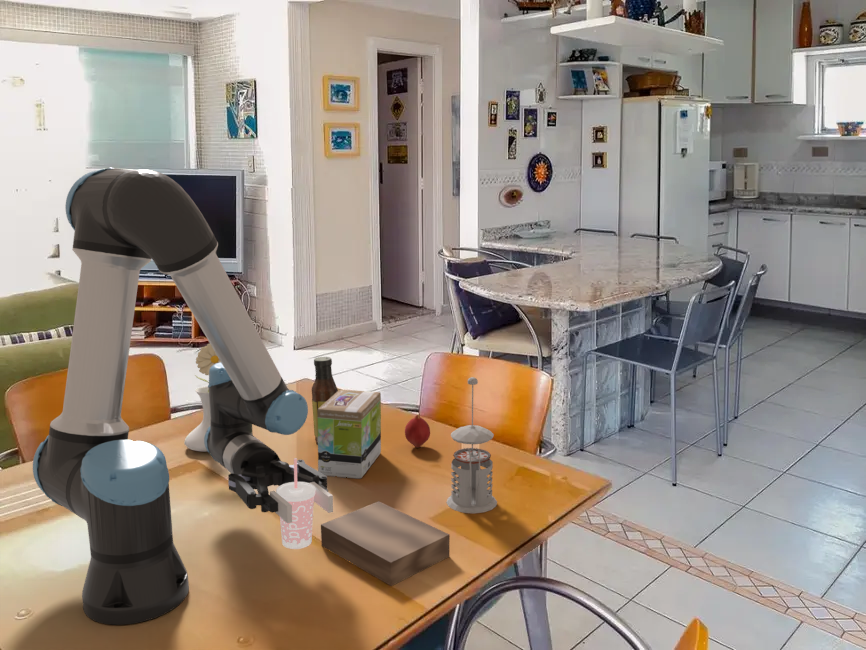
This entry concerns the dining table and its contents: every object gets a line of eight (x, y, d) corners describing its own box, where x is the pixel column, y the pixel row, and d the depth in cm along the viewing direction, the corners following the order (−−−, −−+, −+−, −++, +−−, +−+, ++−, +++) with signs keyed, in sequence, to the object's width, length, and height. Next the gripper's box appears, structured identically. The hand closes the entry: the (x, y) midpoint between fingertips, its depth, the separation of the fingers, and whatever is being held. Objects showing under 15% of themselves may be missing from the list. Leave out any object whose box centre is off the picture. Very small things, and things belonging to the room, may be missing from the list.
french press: (494, 490, 158) (496, 369, 153) (501, 517, 147) (503, 387, 141) (445, 491, 158) (445, 370, 152) (448, 518, 146) (448, 388, 141)
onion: (400, 445, 183) (400, 411, 181) (423, 441, 185) (423, 408, 183) (410, 453, 177) (410, 419, 176) (434, 449, 180) (434, 415, 178)
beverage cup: (270, 548, 124) (268, 463, 121) (287, 531, 129) (285, 450, 127) (307, 553, 122) (306, 467, 119) (322, 536, 128) (321, 453, 125)
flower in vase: (174, 453, 178) (166, 345, 173) (203, 436, 189) (195, 333, 183) (225, 459, 174) (218, 349, 169) (251, 441, 185) (246, 337, 180)
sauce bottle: (346, 439, 186) (344, 357, 182) (329, 447, 181) (326, 363, 177) (325, 434, 190) (322, 353, 186) (307, 442, 185) (304, 359, 180)
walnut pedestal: (391, 585, 124) (390, 562, 123) (321, 546, 136) (320, 524, 135) (449, 556, 132) (449, 534, 132) (379, 521, 145) (378, 501, 144)
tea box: (363, 480, 164) (361, 411, 160) (317, 476, 165) (314, 408, 162) (382, 453, 178) (381, 390, 175) (339, 450, 180) (337, 387, 177)
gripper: (302, 471, 145) (365, 517, 126) (199, 494, 134) (251, 548, 115) (301, 432, 143) (365, 473, 125) (197, 451, 133) (249, 499, 114)
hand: (310, 509), depth 120 cm, fingers closed on beverage cup, 6 cm apart
